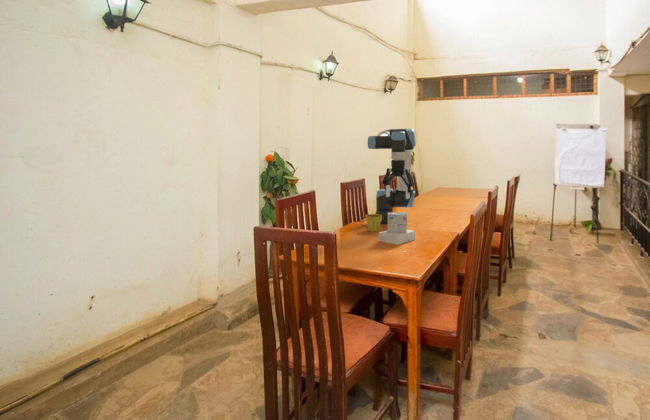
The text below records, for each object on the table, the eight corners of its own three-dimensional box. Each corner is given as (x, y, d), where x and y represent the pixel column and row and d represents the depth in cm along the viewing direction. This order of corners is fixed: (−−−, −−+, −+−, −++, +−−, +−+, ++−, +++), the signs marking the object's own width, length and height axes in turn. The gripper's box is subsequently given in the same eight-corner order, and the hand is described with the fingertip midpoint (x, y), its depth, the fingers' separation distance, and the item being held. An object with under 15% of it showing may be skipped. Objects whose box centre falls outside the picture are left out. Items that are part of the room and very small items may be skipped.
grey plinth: (378, 241, 229) (378, 232, 228) (396, 236, 241) (396, 227, 240) (397, 244, 220) (397, 235, 219) (415, 239, 232) (415, 230, 231)
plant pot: (377, 232, 251) (377, 217, 249) (362, 231, 256) (362, 216, 255) (384, 229, 259) (384, 214, 258) (369, 228, 265) (369, 213, 263)
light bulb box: (405, 230, 232) (406, 212, 231) (407, 233, 226) (407, 214, 224) (387, 230, 233) (387, 212, 232) (387, 232, 227) (388, 214, 225)
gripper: (376, 159, 229) (376, 196, 233) (413, 160, 212) (412, 200, 215) (384, 159, 234) (384, 195, 238) (421, 159, 217) (420, 198, 220)
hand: (397, 197), depth 226 cm, fingers open, 13 cm apart
